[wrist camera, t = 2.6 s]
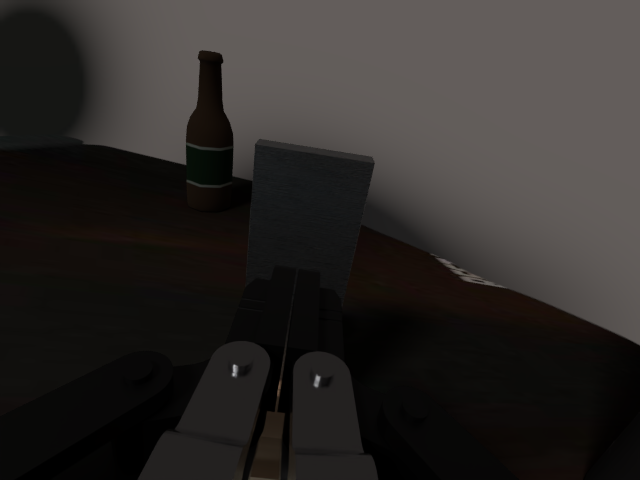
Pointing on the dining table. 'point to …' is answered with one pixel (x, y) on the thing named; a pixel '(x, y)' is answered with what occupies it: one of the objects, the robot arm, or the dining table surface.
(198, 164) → the beer bottle
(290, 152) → the grey l-shaped bracket
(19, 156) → the dining table surface
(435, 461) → the robot arm
